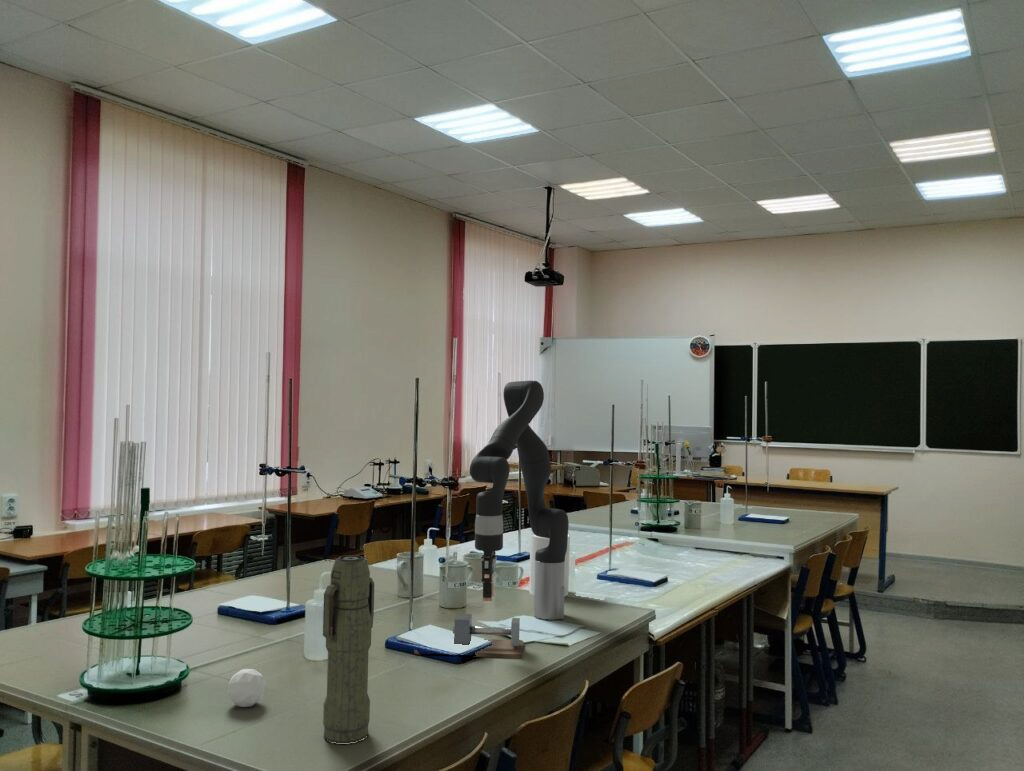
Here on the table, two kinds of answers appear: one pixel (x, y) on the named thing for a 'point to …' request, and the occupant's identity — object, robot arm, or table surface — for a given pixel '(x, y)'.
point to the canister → (535, 545)
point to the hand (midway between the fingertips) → (488, 594)
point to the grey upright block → (462, 629)
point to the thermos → (348, 649)
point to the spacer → (492, 589)
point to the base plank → (499, 649)
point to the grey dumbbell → (500, 631)
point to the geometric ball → (246, 687)
